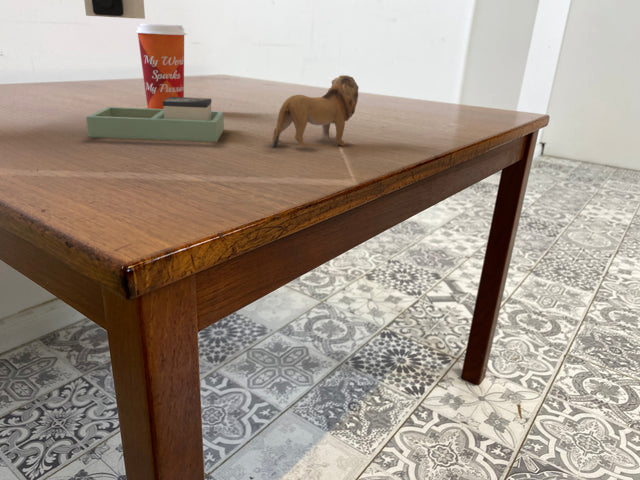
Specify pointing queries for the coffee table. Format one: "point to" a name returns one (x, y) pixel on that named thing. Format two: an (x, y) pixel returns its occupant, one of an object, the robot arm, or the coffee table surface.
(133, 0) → the cream block
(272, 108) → the coffee table surface
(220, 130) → the green divided tray
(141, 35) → the paper cup
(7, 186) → the coffee table surface
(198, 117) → the pad
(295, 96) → the lion figurine
